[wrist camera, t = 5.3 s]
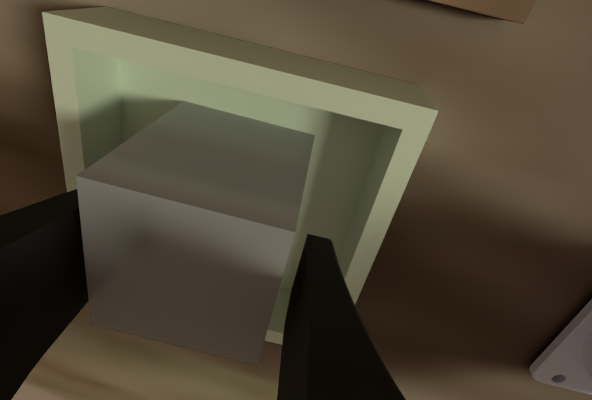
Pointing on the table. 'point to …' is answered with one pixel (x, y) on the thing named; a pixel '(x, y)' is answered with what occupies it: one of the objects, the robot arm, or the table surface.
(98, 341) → the table surface
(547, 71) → the table surface
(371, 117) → the green bin
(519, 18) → the brown shallow tray
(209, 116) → the grey block
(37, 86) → the table surface
